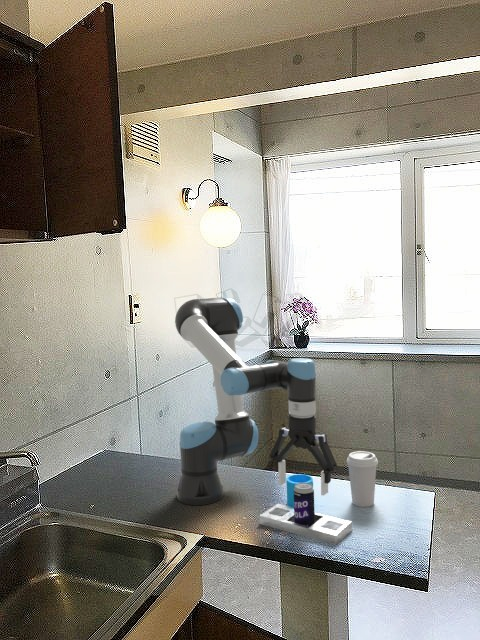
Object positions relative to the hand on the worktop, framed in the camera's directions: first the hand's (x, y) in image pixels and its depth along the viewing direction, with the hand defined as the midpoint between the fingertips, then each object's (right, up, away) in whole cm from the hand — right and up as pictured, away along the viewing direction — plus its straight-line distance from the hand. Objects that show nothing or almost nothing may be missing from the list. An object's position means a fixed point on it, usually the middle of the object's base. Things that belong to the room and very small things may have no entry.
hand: (302, 488), depth 157 cm
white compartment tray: (+1, -11, 0) cm, 11 cm away
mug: (+2, -10, +18) cm, 20 cm away
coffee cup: (+20, -9, +16) cm, 27 cm away
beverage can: (+1, -11, 0) cm, 11 cm away
